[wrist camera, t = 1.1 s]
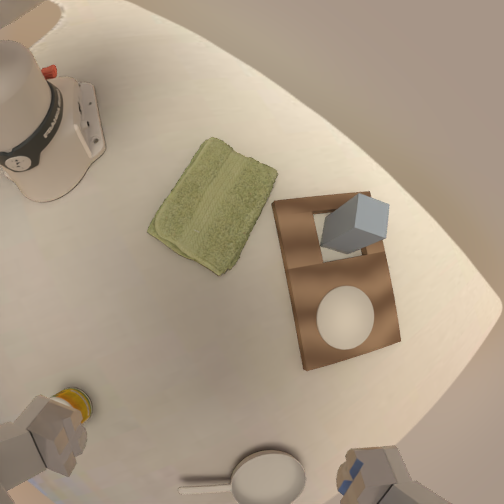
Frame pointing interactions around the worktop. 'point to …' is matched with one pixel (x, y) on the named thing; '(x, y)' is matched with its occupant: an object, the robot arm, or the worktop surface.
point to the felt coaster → (345, 317)
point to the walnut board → (330, 279)
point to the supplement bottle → (75, 401)
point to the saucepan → (261, 480)
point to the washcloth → (214, 206)
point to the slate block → (355, 224)
